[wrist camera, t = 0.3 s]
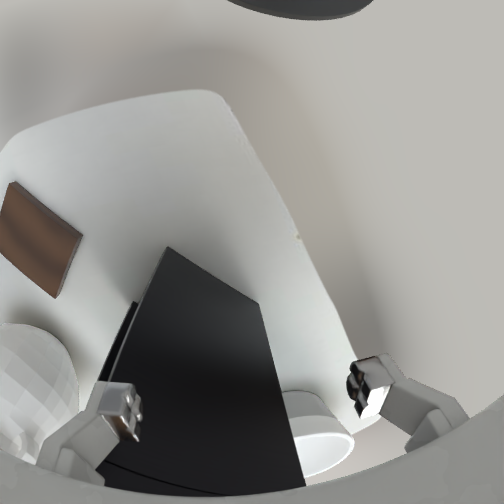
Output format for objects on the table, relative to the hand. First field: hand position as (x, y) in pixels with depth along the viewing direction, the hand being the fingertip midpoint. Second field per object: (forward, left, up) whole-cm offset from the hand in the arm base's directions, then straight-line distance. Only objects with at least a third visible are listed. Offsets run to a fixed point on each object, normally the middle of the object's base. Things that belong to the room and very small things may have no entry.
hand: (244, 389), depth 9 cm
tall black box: (+11, +3, -22) cm, 25 cm away
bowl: (+22, +28, -23) cm, 42 cm away
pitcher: (+34, -13, -23) cm, 43 cm away
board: (+16, -20, -22) cm, 34 cm away
